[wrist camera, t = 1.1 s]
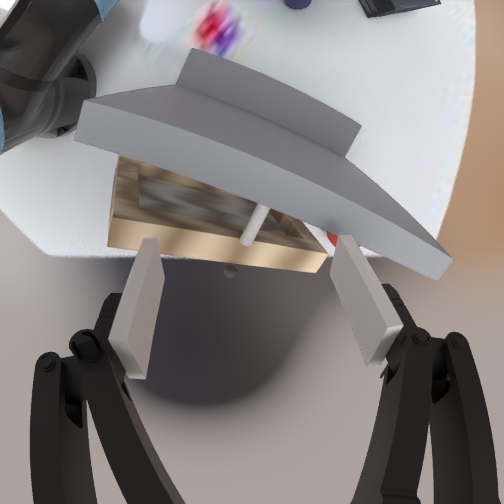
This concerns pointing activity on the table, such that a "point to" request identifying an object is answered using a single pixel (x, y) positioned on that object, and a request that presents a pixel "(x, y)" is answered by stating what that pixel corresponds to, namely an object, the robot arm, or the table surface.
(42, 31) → the robot arm
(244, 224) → the frame
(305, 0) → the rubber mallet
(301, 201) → the panel
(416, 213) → the table surface
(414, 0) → the box
